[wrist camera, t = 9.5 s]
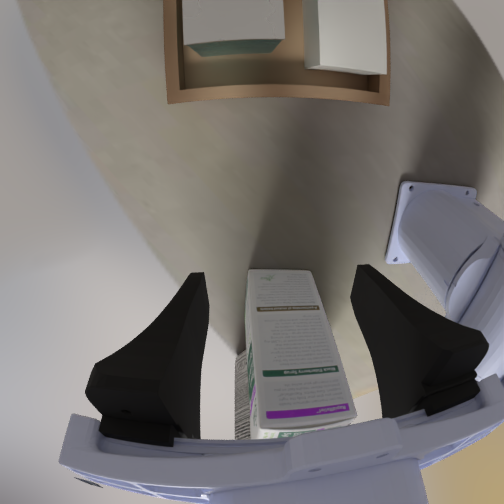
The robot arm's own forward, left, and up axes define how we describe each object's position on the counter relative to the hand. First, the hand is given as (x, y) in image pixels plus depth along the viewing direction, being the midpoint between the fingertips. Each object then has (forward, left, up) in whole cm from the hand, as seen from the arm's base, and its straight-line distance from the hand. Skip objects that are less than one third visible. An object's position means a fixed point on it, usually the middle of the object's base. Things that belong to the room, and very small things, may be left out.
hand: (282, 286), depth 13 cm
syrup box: (-1, +9, -10) cm, 14 cm away
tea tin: (+2, -13, -9) cm, 16 cm away
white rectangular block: (-5, -14, -9) cm, 17 cm away
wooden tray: (-1, -14, -10) cm, 17 cm away
